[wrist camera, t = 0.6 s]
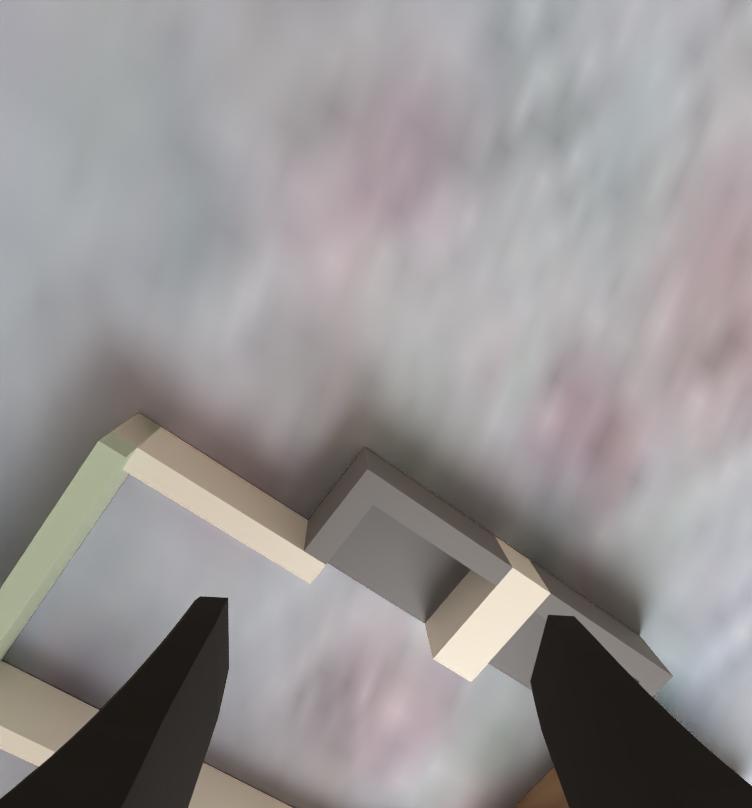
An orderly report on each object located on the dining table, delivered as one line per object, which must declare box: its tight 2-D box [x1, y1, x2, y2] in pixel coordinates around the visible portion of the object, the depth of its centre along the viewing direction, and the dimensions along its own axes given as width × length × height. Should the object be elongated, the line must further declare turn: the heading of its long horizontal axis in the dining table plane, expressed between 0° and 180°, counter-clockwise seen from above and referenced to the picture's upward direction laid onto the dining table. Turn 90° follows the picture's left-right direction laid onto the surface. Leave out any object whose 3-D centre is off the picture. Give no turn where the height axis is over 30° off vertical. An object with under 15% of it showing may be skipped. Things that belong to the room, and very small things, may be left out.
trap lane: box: [0, 412, 673, 808], centre depth 23 cm, size 18×35×4 cm, turn 53°
